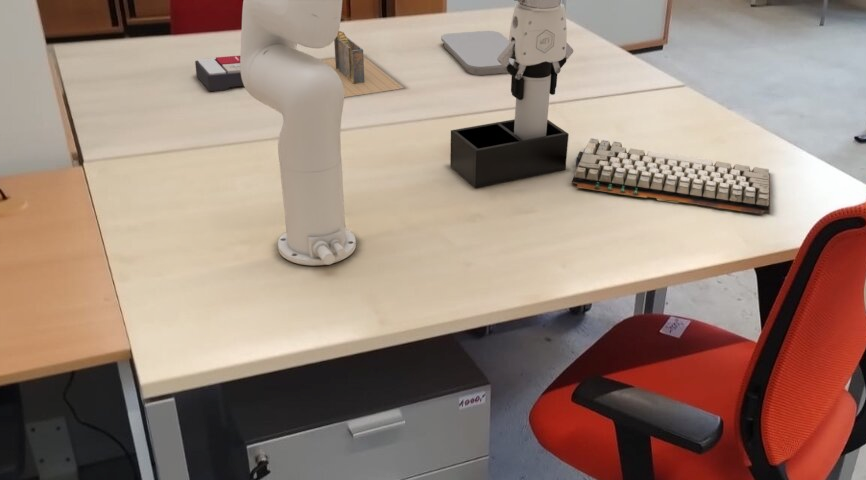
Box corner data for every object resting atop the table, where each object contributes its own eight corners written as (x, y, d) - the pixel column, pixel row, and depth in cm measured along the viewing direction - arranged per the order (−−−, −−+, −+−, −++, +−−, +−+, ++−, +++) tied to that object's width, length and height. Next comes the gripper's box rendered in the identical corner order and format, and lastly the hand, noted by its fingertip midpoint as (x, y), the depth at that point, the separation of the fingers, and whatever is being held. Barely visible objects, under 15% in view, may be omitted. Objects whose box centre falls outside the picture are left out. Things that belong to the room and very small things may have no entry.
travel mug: (543, 164, 182) (551, 62, 171) (509, 160, 183) (515, 58, 172) (548, 152, 187) (556, 51, 176) (515, 147, 188) (522, 47, 177)
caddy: (565, 169, 184) (568, 133, 180) (475, 188, 176) (476, 150, 172) (538, 149, 192) (540, 114, 187) (450, 166, 183) (450, 130, 179)
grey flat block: (496, 38, 250) (497, 30, 249) (533, 71, 230) (534, 62, 229) (438, 43, 245) (438, 34, 244) (470, 76, 225) (470, 67, 224)
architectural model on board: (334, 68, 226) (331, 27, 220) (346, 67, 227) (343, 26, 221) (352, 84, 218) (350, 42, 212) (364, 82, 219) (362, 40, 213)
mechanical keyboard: (769, 174, 187) (773, 158, 185) (770, 218, 172) (773, 201, 170) (581, 150, 193) (583, 134, 191) (565, 190, 178) (567, 174, 176)
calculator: (274, 67, 214) (207, 72, 207) (275, 85, 216) (209, 91, 209) (259, 52, 222) (194, 57, 215) (259, 70, 224) (196, 75, 217)
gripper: (507, 7, 161) (503, 108, 171) (592, -2, 169) (582, 95, 179) (486, -4, 167) (483, 94, 177) (569, -13, 174) (561, 82, 184)
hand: (533, 94), depth 178 cm, fingers closed on travel mug, 6 cm apart
